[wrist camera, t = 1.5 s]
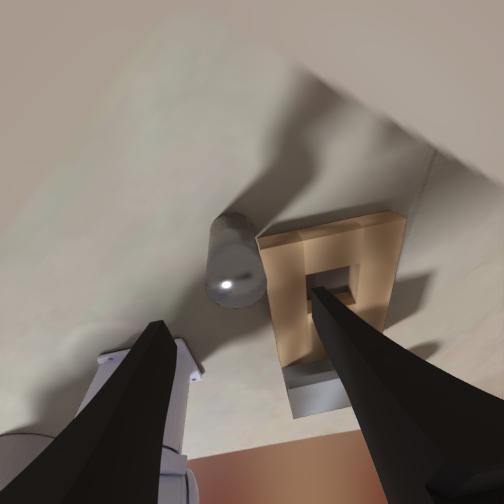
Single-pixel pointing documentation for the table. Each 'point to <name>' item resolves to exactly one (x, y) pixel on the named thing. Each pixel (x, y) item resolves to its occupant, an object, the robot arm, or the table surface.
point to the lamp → (19, 454)
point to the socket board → (339, 284)
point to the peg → (234, 263)
